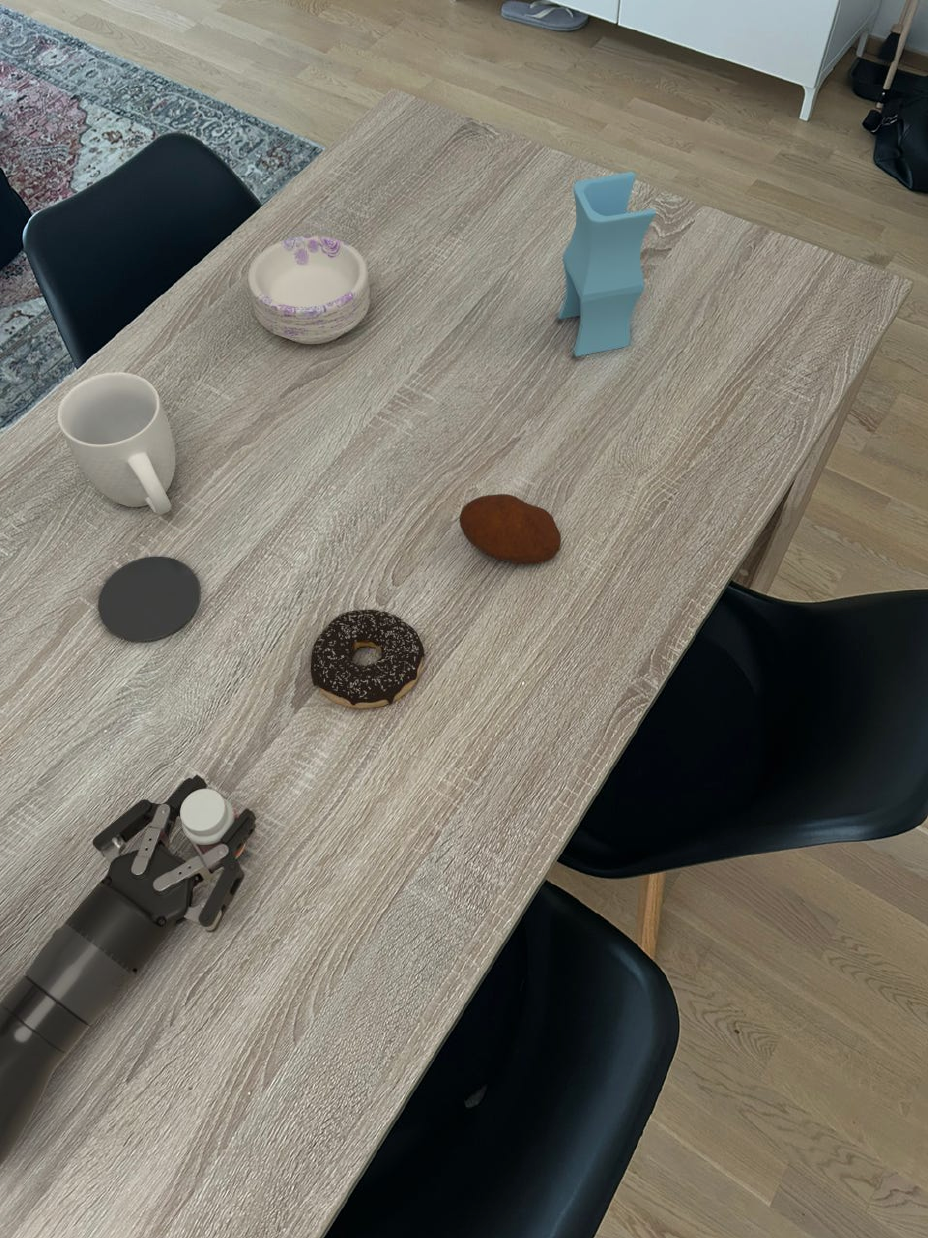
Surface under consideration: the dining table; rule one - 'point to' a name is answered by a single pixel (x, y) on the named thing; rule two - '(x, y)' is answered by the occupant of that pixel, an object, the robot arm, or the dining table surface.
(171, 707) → the dining table surface
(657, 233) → the dining table surface
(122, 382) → the mug
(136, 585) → the coaster
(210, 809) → the pill bottle
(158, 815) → the robot arm
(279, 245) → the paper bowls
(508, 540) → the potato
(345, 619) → the donut
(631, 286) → the vase
